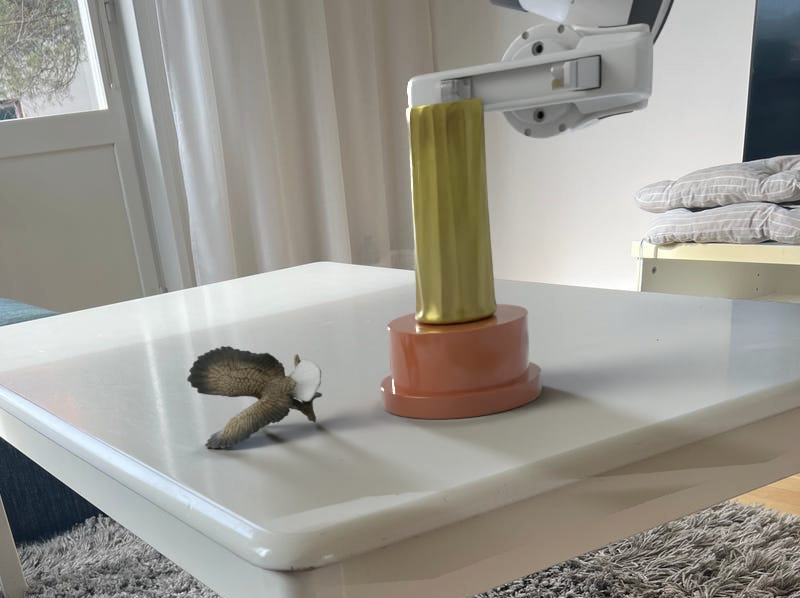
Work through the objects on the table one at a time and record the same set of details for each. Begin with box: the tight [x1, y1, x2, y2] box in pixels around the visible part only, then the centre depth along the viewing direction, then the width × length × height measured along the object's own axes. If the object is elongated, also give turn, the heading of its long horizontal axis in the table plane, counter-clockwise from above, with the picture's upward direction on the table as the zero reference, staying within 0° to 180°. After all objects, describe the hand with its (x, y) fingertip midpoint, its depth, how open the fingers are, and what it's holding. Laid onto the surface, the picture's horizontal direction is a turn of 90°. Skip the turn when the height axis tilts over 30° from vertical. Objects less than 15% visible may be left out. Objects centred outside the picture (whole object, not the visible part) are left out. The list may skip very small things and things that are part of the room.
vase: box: [406, 98, 497, 324], centre depth 70 cm, size 6×6×14 cm
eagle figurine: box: [186, 345, 323, 449], centre depth 72 cm, size 8×7×9 cm
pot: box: [379, 303, 543, 420], centre depth 75 cm, size 12×12×6 cm
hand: (500, 85), depth 76 cm, fingers open, 8 cm apart
